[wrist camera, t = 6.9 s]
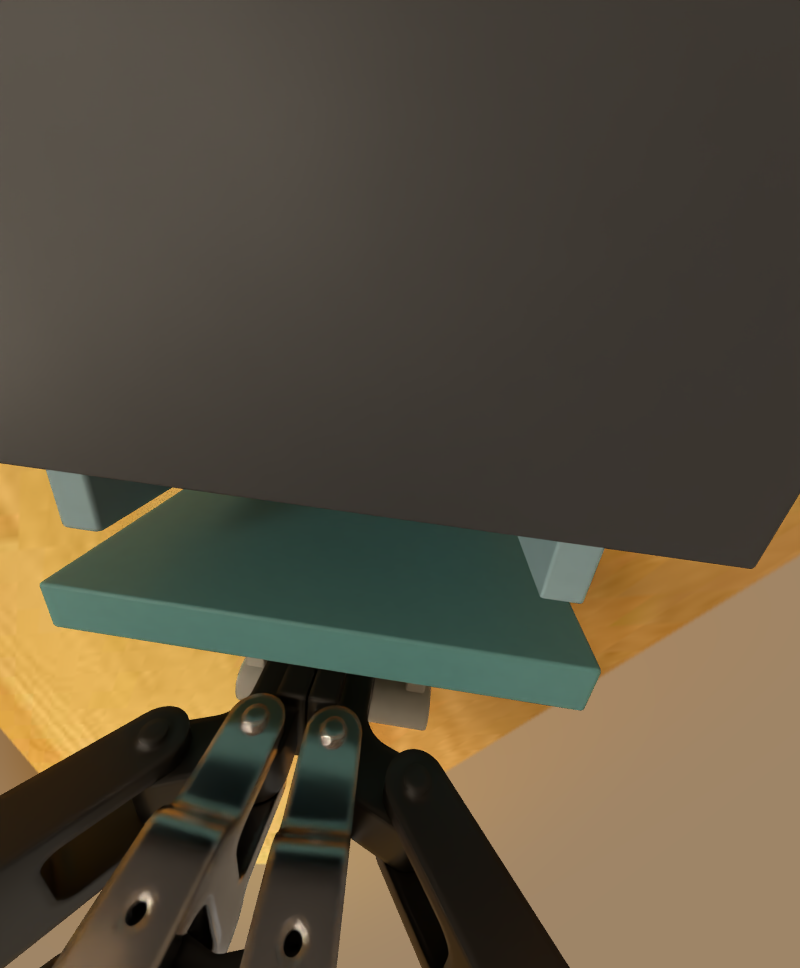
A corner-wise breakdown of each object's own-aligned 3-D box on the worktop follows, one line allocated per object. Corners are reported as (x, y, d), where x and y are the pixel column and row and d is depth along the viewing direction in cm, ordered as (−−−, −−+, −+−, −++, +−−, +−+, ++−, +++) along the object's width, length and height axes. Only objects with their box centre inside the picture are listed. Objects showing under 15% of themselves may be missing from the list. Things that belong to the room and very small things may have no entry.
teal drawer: (489, 626, 16) (525, 838, 10) (236, 588, 17) (102, 764, 10) (642, 66, 9) (1246, -696, 2) (184, 28, 9) (-431, -685, 3)
